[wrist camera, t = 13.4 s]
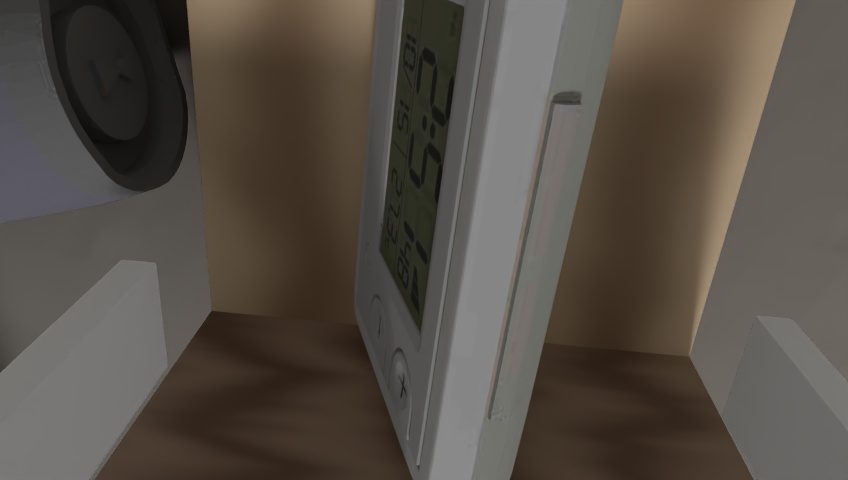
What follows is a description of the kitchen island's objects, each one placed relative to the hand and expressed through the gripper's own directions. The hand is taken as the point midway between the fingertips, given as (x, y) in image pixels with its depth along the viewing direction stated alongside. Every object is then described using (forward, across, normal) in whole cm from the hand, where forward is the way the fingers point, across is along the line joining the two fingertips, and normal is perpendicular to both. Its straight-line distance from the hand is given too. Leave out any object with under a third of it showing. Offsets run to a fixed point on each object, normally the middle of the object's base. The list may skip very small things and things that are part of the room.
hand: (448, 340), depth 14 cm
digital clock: (+11, 0, -2) cm, 11 cm away
